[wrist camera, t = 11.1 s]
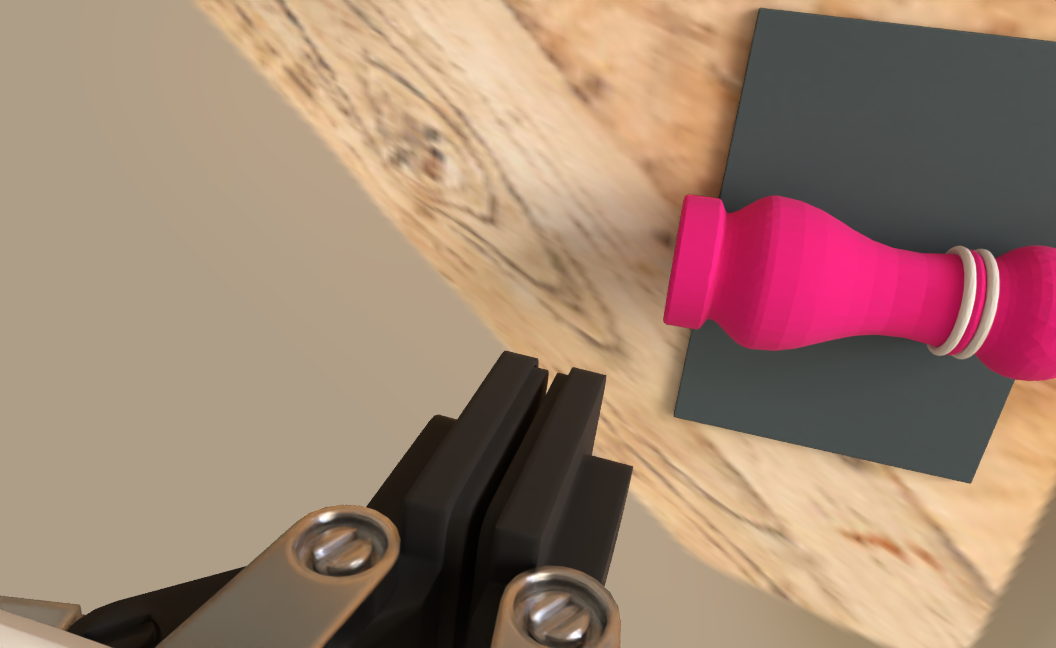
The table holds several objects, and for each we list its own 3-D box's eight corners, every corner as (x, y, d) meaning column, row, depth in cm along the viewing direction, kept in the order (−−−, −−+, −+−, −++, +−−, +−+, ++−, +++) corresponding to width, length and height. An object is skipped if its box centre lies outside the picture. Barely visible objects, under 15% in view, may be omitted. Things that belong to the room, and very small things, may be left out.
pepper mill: (687, 179, 33) (1214, 250, 29) (685, 186, 40) (1110, 243, 36) (659, 345, 34) (1161, 430, 31) (662, 322, 41) (1071, 390, 38)
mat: (759, 7, 35) (759, 8, 35) (1148, 52, 32) (1154, 53, 32) (674, 412, 45) (673, 417, 44) (968, 478, 42) (971, 484, 41)
